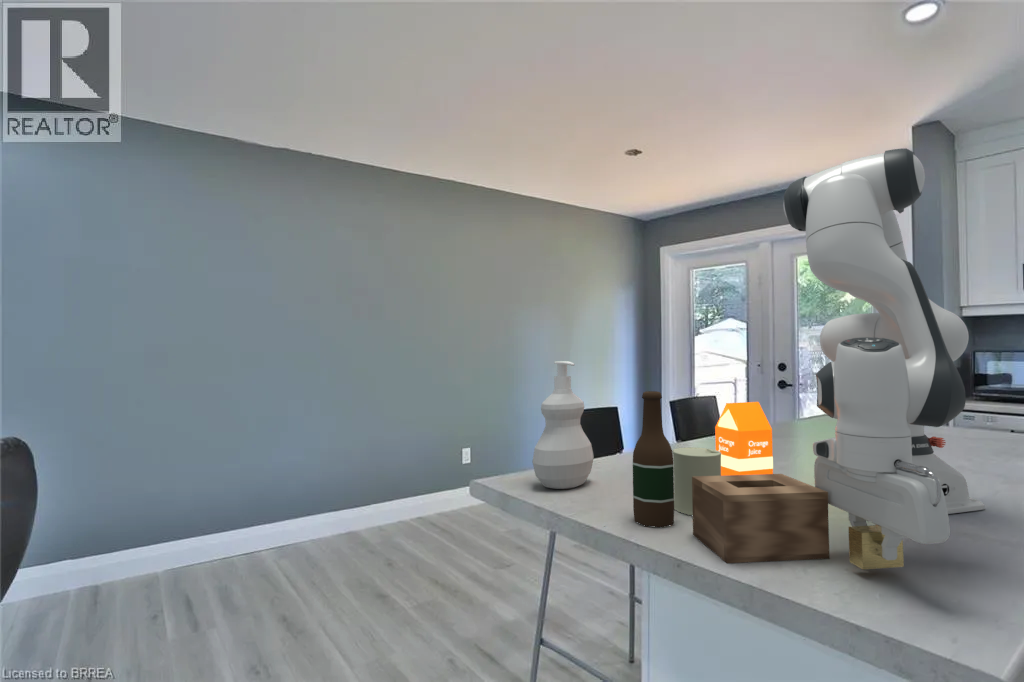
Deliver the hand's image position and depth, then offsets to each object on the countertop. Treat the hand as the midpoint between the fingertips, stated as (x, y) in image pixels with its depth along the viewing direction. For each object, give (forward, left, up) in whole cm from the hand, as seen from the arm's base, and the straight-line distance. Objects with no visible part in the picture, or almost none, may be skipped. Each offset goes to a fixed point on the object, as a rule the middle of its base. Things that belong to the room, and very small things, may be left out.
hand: (875, 552), depth 74 cm
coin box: (+11, -12, -3) cm, 16 cm away
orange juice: (-3, -42, -3) cm, 42 cm away
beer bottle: (+23, -26, -3) cm, 35 cm away
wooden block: (0, 0, -2) cm, 2 cm away
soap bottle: (+35, -54, -3) cm, 64 cm away
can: (+12, -32, -3) cm, 34 cm away
